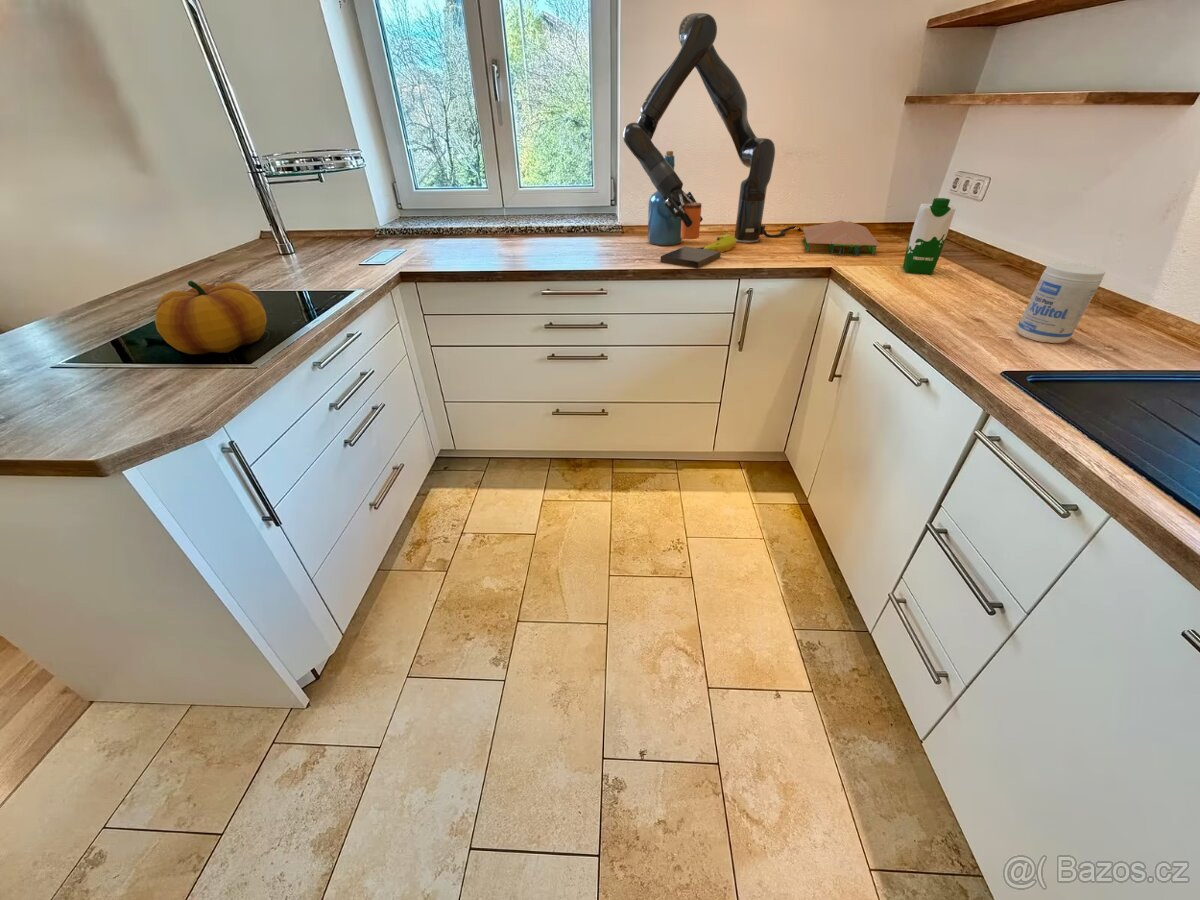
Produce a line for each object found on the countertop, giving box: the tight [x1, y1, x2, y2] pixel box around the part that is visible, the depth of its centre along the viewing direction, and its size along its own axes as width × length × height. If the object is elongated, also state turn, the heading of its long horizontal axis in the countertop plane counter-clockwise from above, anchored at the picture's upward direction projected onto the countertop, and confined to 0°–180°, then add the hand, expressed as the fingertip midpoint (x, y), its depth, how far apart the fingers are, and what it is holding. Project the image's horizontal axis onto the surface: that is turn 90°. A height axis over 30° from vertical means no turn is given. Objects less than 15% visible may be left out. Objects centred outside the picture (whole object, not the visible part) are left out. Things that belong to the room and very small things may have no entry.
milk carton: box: [902, 197, 956, 275], centre depth 149 cm, size 9×9×20 cm
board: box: [660, 246, 722, 269], centre depth 171 cm, size 16×14×2 cm
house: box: [802, 220, 881, 257], centre depth 181 cm, size 23×33×8 cm
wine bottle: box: [647, 150, 683, 246], centre depth 185 cm, size 14×13×30 cm
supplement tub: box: [1016, 261, 1106, 344], centre depth 107 cm, size 10×10×15 cm
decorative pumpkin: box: [154, 280, 268, 355], centre depth 113 cm, size 20×22×15 cm
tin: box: [681, 201, 703, 240], centre depth 165 cm, size 6×6×10 cm
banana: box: [698, 233, 738, 253], centre depth 184 cm, size 5×17×15 cm
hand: (695, 223), depth 164 cm, fingers closed on tin, 6 cm apart
